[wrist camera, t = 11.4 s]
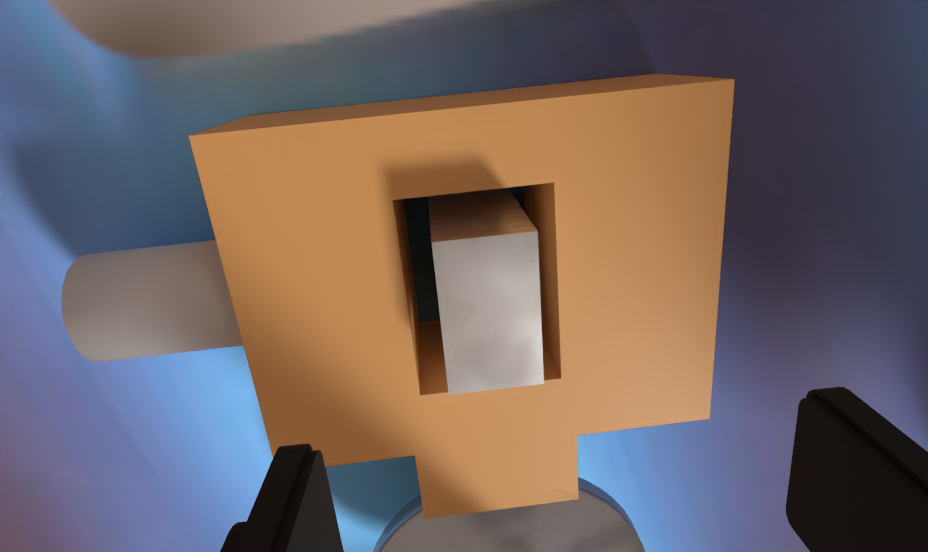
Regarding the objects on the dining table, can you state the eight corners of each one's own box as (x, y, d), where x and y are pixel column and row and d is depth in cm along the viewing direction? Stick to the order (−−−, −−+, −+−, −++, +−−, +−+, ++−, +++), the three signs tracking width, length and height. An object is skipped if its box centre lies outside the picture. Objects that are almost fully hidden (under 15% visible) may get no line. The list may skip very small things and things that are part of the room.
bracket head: (656, 73, 23) (734, 79, 17) (647, 397, 28) (704, 483, 22) (88, 131, 22) (-26, 158, 16) (192, 454, 27) (134, 556, 22)
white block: (499, 175, 24) (537, 230, 16) (507, 287, 25) (544, 383, 18) (427, 183, 23) (431, 242, 16) (439, 295, 25) (448, 394, 18)
